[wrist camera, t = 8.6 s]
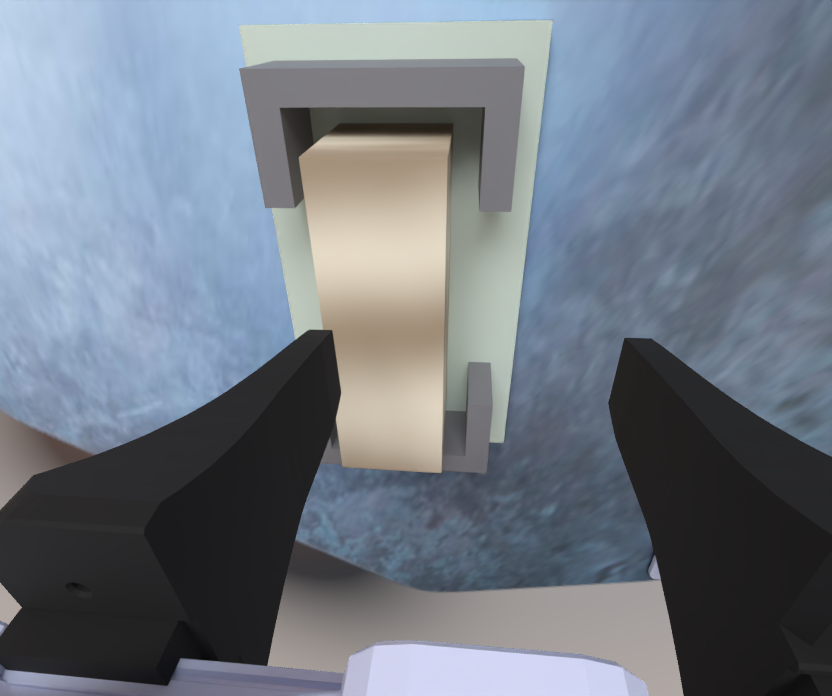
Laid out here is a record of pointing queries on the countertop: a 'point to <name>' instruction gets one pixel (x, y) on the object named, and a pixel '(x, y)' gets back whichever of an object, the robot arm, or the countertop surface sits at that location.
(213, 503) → the robot arm
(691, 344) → the countertop surface
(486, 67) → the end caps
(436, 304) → the slat
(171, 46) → the countertop surface
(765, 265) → the countertop surface
